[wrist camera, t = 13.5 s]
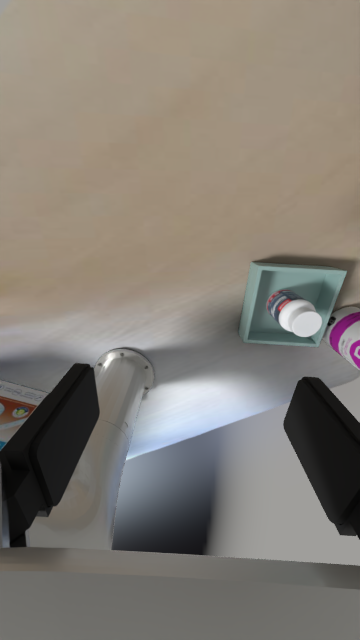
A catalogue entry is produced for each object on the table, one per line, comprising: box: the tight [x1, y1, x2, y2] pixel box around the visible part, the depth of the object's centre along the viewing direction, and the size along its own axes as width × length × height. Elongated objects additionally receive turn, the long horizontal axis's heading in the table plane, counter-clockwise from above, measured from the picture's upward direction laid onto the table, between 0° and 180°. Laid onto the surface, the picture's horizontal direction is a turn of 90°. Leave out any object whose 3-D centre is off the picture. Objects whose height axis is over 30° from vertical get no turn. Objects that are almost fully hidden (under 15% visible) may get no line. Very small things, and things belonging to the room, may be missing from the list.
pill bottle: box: [266, 289, 322, 337], centre depth 32 cm, size 5×5×9 cm
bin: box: [238, 262, 347, 347], centre depth 35 cm, size 13×13×4 cm
